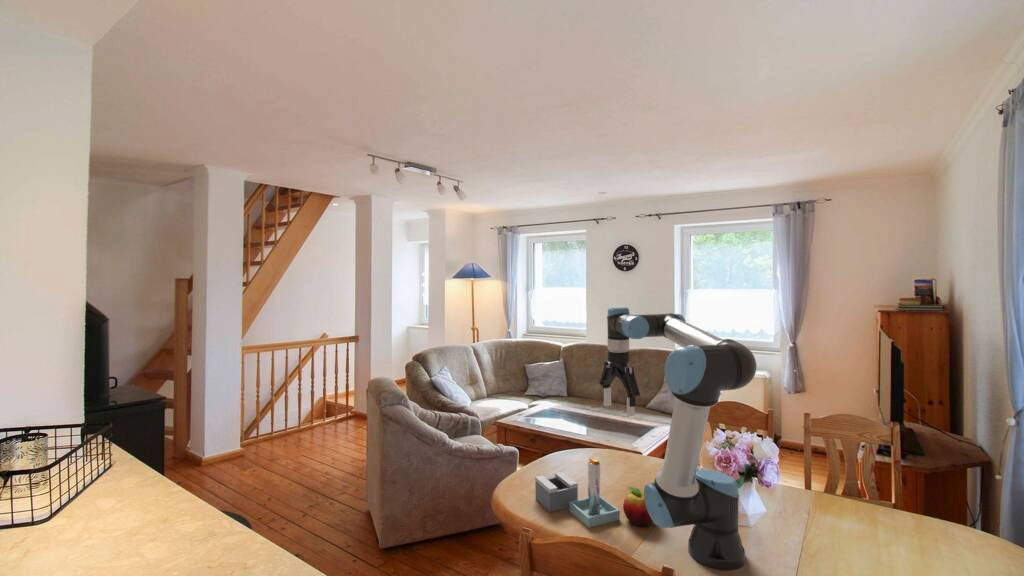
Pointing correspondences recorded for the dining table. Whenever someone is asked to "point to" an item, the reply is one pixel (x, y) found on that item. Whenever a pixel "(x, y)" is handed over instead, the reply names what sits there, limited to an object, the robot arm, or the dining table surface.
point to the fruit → (636, 508)
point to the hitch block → (556, 491)
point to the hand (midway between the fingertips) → (618, 410)
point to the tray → (605, 516)
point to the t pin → (593, 487)
